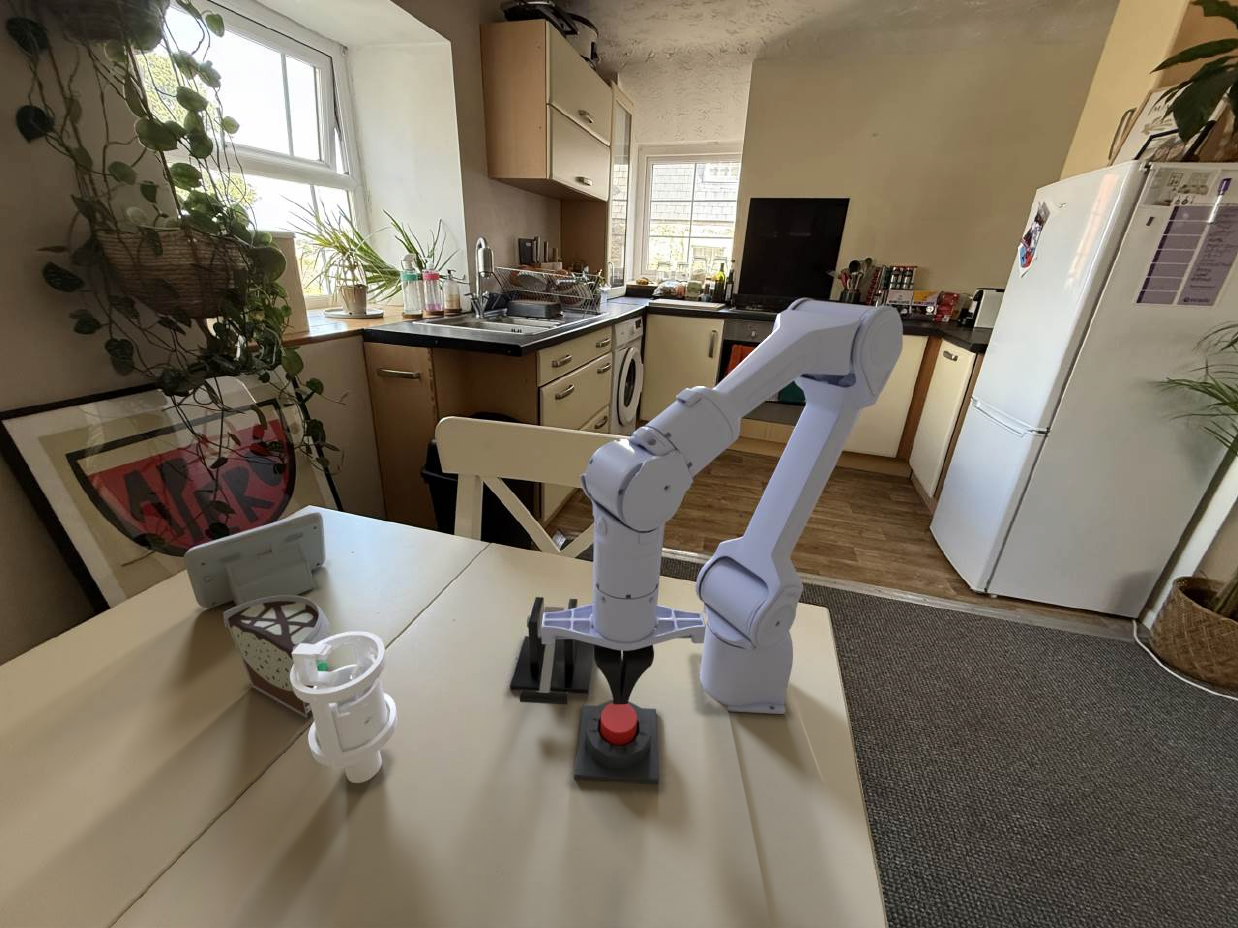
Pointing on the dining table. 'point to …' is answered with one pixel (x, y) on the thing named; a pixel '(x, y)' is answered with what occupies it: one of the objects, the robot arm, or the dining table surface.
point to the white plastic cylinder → (346, 704)
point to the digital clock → (258, 562)
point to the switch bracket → (568, 662)
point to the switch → (546, 677)
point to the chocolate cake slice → (276, 642)
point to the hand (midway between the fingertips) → (619, 695)
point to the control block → (617, 749)
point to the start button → (618, 724)
